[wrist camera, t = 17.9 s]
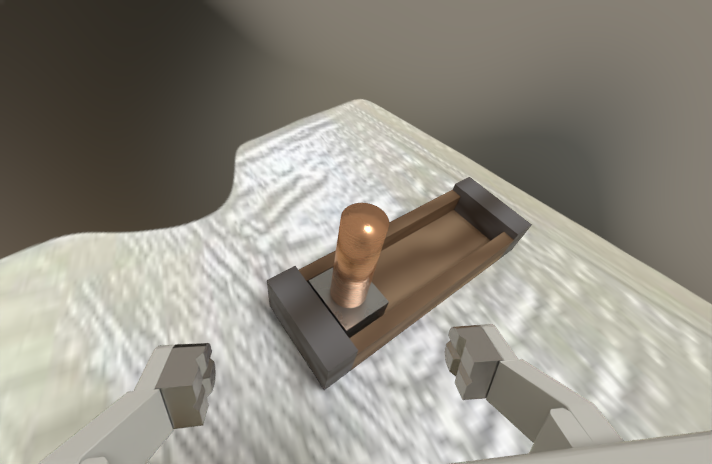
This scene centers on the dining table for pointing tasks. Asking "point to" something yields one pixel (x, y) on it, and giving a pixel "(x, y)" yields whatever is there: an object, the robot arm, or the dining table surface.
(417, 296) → the track
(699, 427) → the dining table surface
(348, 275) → the slider
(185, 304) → the dining table surface
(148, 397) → the robot arm
